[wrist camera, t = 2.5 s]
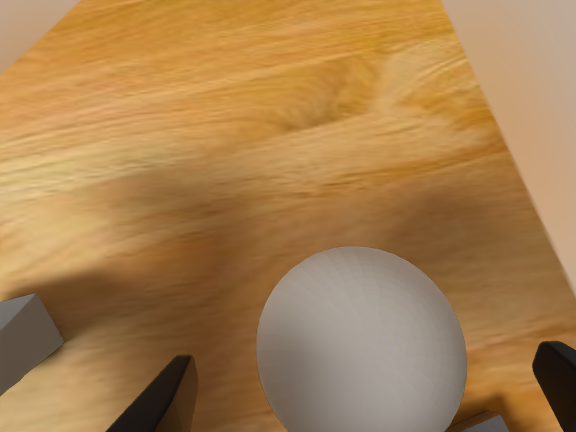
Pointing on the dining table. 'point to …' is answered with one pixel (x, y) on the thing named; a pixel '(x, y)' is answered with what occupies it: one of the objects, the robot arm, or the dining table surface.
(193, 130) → the dining table surface
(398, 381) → the light bulb
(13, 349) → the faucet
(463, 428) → the plate
